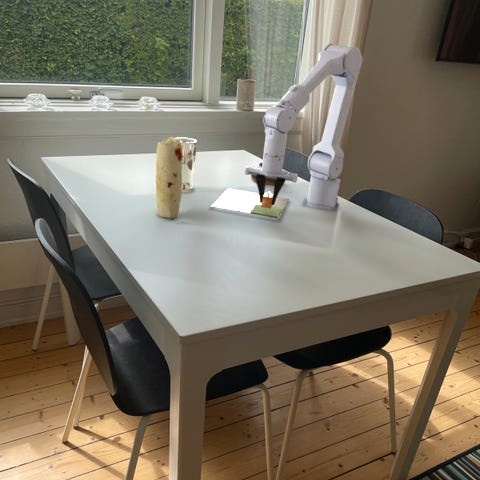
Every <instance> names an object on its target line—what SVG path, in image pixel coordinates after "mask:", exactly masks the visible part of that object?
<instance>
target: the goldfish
mask: <svg viewBox="0 0 480 480" xmlns="http://www.w3.org/2000/svg"><path fill="white" fill-rule="evenodd" d="M273 194H274V193H272V192H271V191H268V192H265V194H264V195H263V199H262V207H263V208H269V209H271V208H272V206H273V205H272V199H273Z"/></svg>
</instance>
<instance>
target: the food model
mask: <svg viewBox="0 0 480 480" xmlns="http://www.w3.org/2000/svg"><path fill="white" fill-rule="evenodd" d="M176 138H177V137H175V136H169V137H165V138H163V139H162V140H161V142H160V141H158V143H157V145H156V166H155V193H156V194H155V196H156V198H155V199H156V212H157V214H158V216H160V217H162V218H166V219H170V220H171V219H175V218H176V217H177V216H178V214H179V212H180V207H181V200H182V190H183V189H182V145H181V142H180V141H179V140H178V139H176Z"/></svg>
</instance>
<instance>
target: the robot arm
mask: <svg viewBox="0 0 480 480" xmlns="http://www.w3.org/2000/svg"><path fill="white" fill-rule="evenodd" d="M363 60H364V57H363V55H362V52H361V50H360V48H359V47H358V46H347V45H339V44H334V43H328V44H326V45H325V46H324V47H323V49H322V50H321V51H320V52H319V53H318V61H317V62H316V63H315V64H314V66H313V67H312V68H311V69H310V71H309V72H308V74H307V75H306V76H305V78H304V79H303V80H302V82H301V83H300V84H293V85H291V86H290V87H289V88H288V91H287V92H286V93H285V94H284V95H283V97H282V98H281V99H280V100H279V101H278V102H277V103H276V105H271V106H270V107H268V109H267V110H266V111H265V113H264V116H262V123H263V125H264V134H265V138H264V146H263V153H262V154H263V155H262V162H261V163H262V167H259V166H250V165H246V167H245V169H244V175H247V176H251V175H256V179H255V180H256V182H255V183H256V186H257V190H258V193H259V195H260V203H262V199H263V195H264V194H265V193H266V191H265V190H266V179H267V177H269V178H275V179H276V180H275V183H274V185H273V193H272V194H273V199H272V205H274V204H275V202H276V198H277V197H279V194H280V191H281V189H282V187H283V186H284V185H285V182H287V181H288V182H292V183H297V182H298V175H299V174H298V173H294V172H291V171H286V170H283V168H284V160H285V154H286V147H287V140H288V134H289V133H288V132H289V131H291V130H292V129H293V127H294V125H295V121H296V119H297V117H298V114H300V112H301V111H302V110H303V109H304V108H305V107H306V105H307V104H308V103H309V102H310V94H311V93H312V92H313V91H314V90H316V88H318V86H319V85H320V84H322V82H324V80H326V79H327V78H328V77H329V76H330V78H332V79H333V81H334V84H335V87H334V91H333V95H332V97H331V98H332V99H331V102H330V106H329V110H328V114H327V118H326V122H325V126H324V130H323V134H322V137H321V140H320V142H318V143H317V144H316V145H314V146H313V148H312V151H311V153H310V155H309V157H308V159H307V169H308V171H309V175H310V180H309V186H308V192H307V196H306V201H307V203H310V204H312V205H315V206H321V207H322V206H323V207H330V208H336V205H337V204H338V201H339V197H338V196H339V190H340V187H341V186H340V185H341V182H342V180H341V179H340V178H338V177H339V176H340V175H341V174H342V172H343V168H344V157H345V153H344V151H343V149H342V148H341V146H340V143H341V139H342V137H343V132H344V129H345V125H346V121H347V118H348V114H349V111H350V108H351V107H350V106H351V103H352V100H353V96H354V92H355V89H356V84H357V82H358V79H359V75H360V71H361V67H362V63H363Z"/></svg>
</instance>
